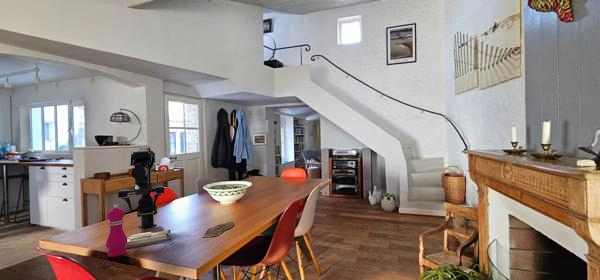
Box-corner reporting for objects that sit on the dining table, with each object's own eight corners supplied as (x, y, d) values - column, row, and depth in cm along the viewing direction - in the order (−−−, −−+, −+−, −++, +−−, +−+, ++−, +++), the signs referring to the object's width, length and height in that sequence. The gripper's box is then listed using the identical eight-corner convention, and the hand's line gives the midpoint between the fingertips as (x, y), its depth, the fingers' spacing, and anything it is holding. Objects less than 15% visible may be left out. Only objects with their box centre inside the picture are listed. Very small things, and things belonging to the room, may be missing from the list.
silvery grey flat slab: (121, 243, 121) (120, 237, 121) (170, 234, 130) (170, 229, 130) (118, 249, 113) (118, 244, 113) (171, 240, 122) (170, 234, 122)
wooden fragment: (213, 239, 122) (213, 237, 122) (193, 237, 126) (193, 235, 126) (243, 222, 146) (243, 220, 146) (225, 221, 150) (225, 219, 150)
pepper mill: (116, 257, 105) (115, 206, 105) (101, 256, 106) (99, 206, 106) (132, 250, 112) (130, 202, 112) (117, 249, 113) (115, 202, 113)
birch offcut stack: (125, 240, 121) (125, 235, 121) (166, 233, 129) (166, 228, 129) (123, 246, 114) (123, 240, 114) (166, 238, 122) (166, 233, 122)
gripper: (115, 180, 116) (116, 217, 116) (164, 176, 125) (165, 210, 125) (118, 177, 126) (120, 211, 126) (163, 174, 134) (164, 205, 134)
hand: (142, 209), depth 127 cm, fingers open, 9 cm apart
